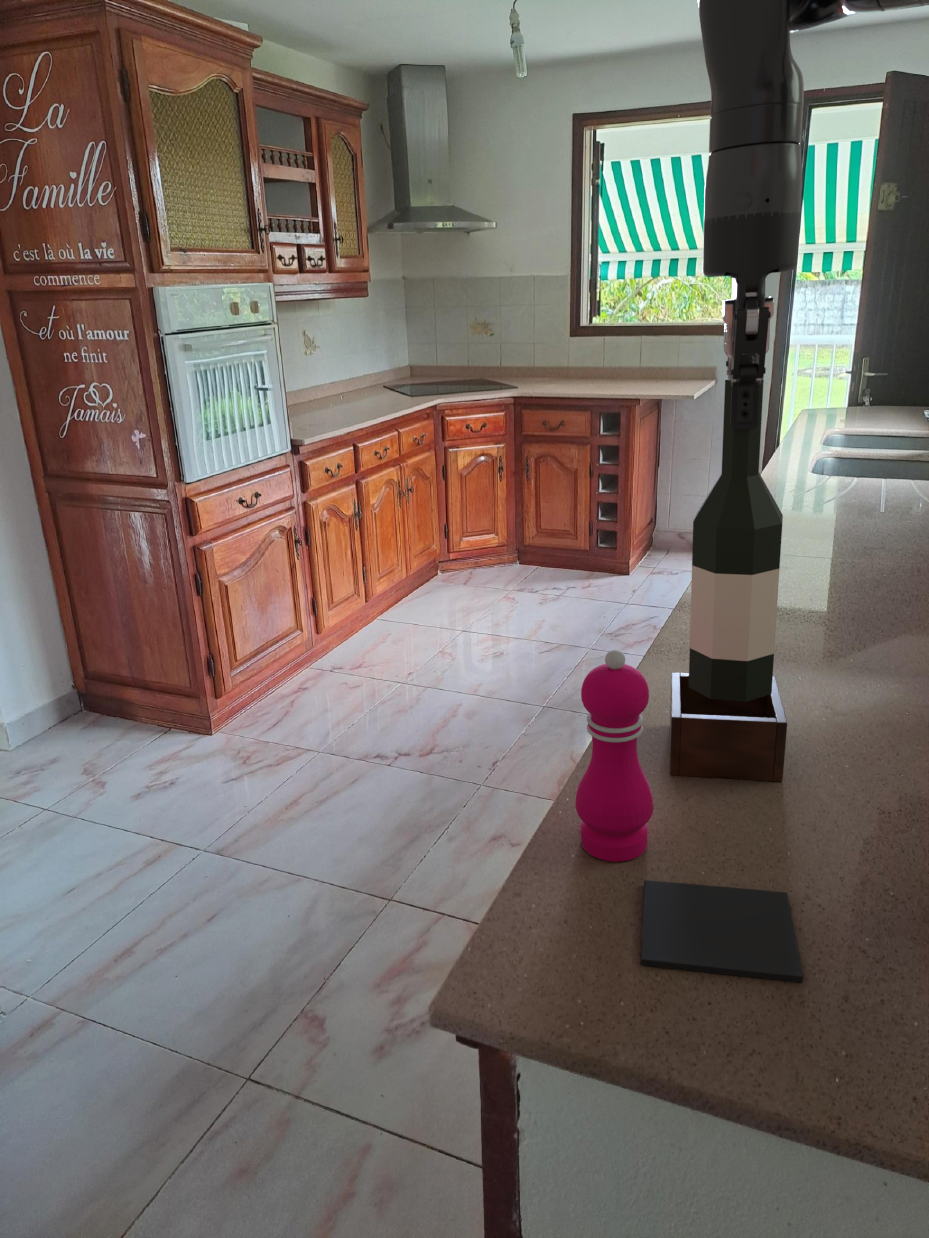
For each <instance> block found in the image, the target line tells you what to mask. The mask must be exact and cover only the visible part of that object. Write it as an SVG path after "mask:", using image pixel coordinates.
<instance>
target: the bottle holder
mask: <svg viewBox="0 0 929 1238" xmlns="http://www.w3.org/2000/svg"><path fill="white" fill-rule="evenodd" d="M782 701H783V700H782V698H781V694H780V689H779V686H778V682H777V679H776V676H774V675H773V678H772V694H770V695H766V696H763V697H760V698H757V699H753V700H750V701H747V702H741V701H729V700H717V699H710V698H708V697H706V696H704V695H702V694H700V693H699V692H697V691H695V690H693V689H691V688H689V672H671V673H670V701H669V702H670V703H669V775H670V776H682V777H696V778H697V777H699V778H714V779H715V778H716V779H732V780H745V781H746V780H747V781H762V782H763V781H765V782H777V783H781V782H783V780H784V768H785V757H786V756H785V755H786V744H787V733H788V720H787V717H786V713H785V708H784V705H783V702H782Z"/></svg>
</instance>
